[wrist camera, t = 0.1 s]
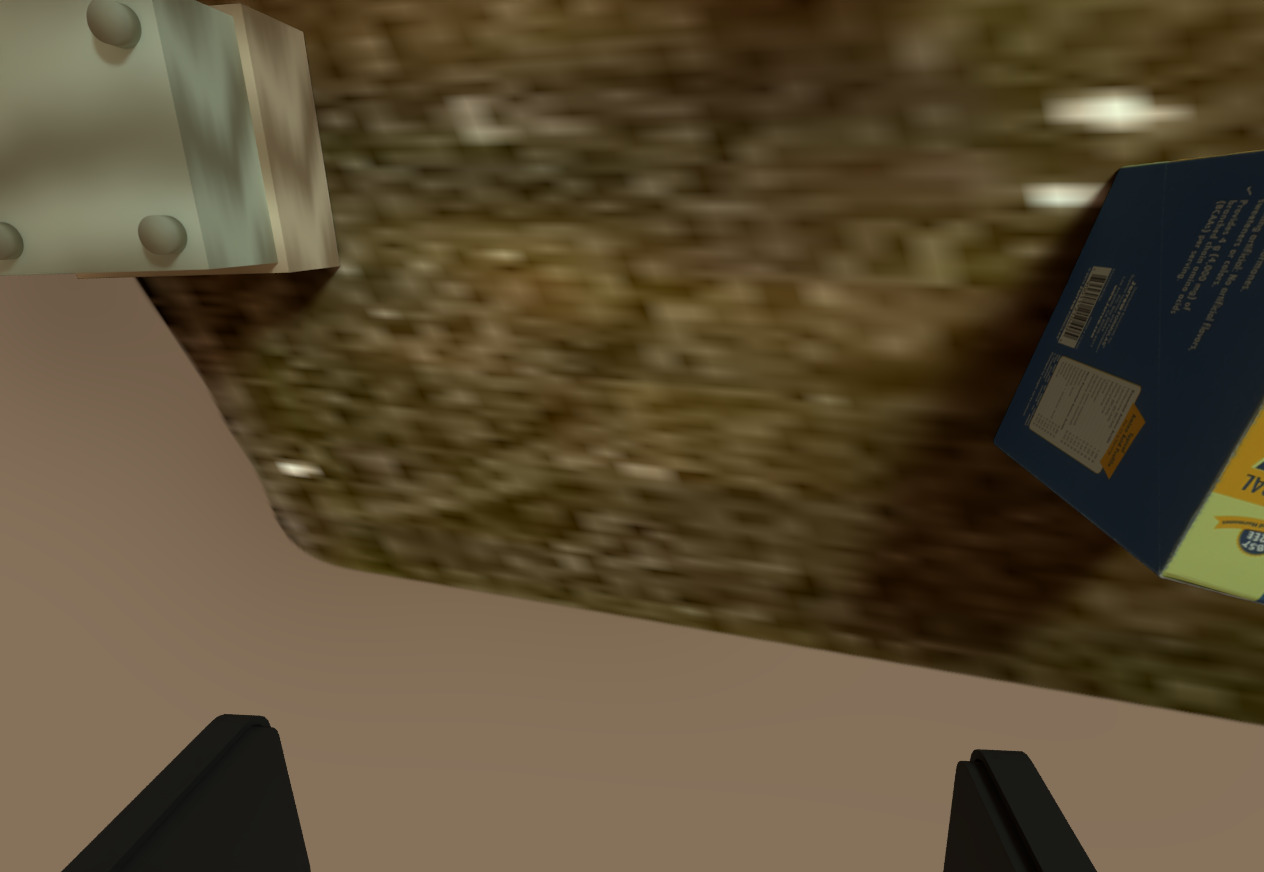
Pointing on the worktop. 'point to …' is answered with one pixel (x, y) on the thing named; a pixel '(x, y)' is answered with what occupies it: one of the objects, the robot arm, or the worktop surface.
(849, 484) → the worktop surface
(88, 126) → the grey studded block
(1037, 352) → the protein box
